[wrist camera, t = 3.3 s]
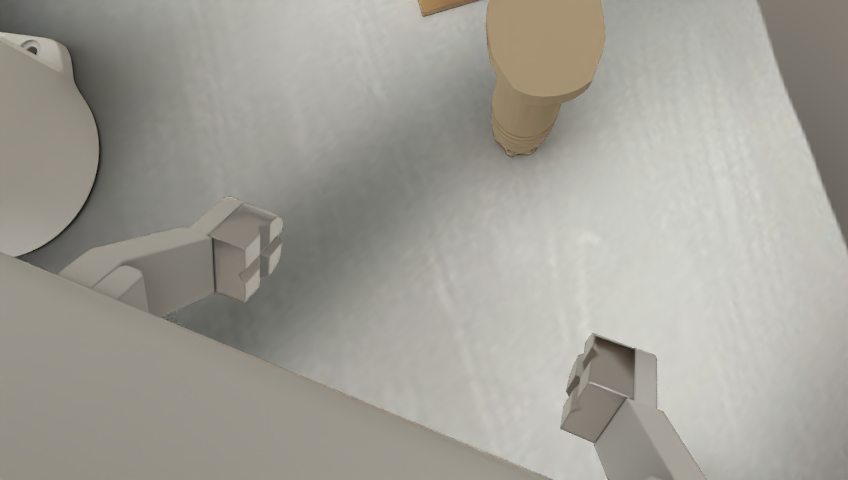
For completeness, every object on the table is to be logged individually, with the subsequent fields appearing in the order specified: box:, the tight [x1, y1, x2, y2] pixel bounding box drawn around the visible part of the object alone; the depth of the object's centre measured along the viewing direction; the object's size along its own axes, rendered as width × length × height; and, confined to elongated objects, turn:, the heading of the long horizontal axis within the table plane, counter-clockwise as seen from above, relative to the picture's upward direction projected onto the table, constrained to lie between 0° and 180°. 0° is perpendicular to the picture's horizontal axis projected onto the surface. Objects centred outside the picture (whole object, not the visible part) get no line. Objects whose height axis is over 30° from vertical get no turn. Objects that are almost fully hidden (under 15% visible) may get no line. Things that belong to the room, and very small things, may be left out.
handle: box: [486, 0, 605, 157], centre depth 32 cm, size 5×6×15 cm
